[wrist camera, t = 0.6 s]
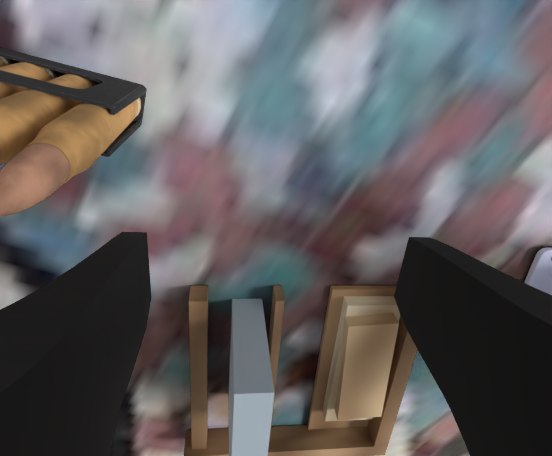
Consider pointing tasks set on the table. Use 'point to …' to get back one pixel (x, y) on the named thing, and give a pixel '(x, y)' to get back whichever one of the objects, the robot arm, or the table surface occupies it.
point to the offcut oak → (365, 365)
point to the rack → (317, 433)
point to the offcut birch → (349, 308)
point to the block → (249, 380)
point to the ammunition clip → (57, 124)
